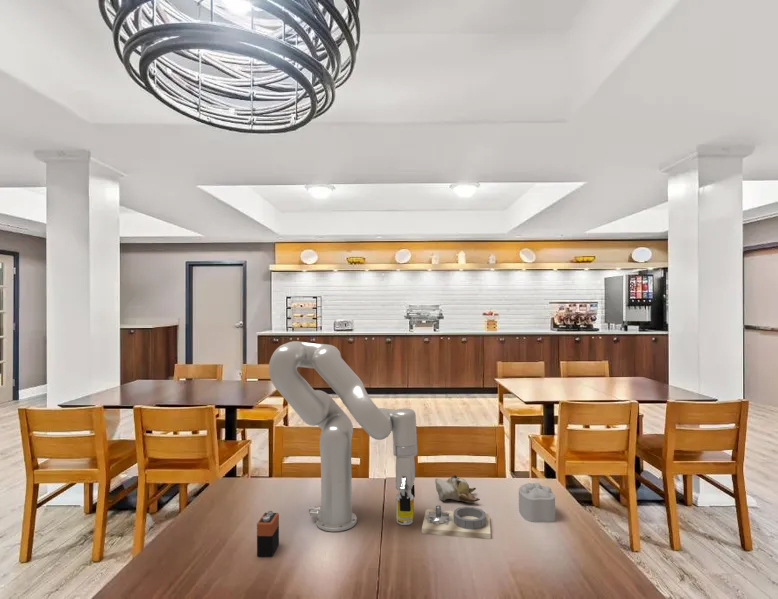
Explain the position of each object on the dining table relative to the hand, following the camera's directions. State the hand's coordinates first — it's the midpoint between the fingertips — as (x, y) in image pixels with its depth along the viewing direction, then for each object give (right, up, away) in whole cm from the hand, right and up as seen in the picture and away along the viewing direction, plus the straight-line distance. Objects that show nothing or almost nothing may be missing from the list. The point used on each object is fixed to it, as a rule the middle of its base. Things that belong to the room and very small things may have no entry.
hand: (407, 503), depth 145 cm
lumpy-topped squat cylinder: (+42, -6, +5) cm, 43 cm away
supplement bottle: (-1, -6, 0) cm, 6 cm away
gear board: (+15, -5, -3) cm, 16 cm away
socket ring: (+19, -4, -4) cm, 20 cm away
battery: (-39, -6, -16) cm, 43 cm away
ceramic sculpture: (+18, -6, +16) cm, 25 cm away
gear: (+9, -4, -2) cm, 10 cm away
